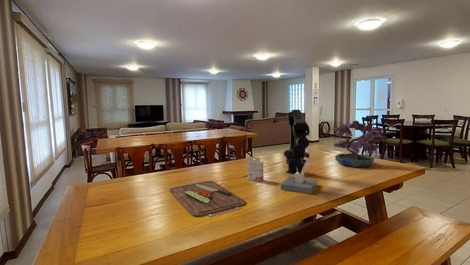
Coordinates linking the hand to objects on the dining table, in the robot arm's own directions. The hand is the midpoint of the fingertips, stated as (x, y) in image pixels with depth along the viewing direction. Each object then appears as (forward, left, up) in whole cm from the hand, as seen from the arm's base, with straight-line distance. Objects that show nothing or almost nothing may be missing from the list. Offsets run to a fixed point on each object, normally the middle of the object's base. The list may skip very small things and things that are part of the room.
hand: (299, 173), depth 139 cm
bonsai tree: (-66, +25, -8) cm, 71 cm away
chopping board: (+35, -39, -9) cm, 53 cm away
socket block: (0, 0, -8) cm, 8 cm away
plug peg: (0, 0, -8) cm, 8 cm away
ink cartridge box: (-1, -27, -8) cm, 28 cm away
